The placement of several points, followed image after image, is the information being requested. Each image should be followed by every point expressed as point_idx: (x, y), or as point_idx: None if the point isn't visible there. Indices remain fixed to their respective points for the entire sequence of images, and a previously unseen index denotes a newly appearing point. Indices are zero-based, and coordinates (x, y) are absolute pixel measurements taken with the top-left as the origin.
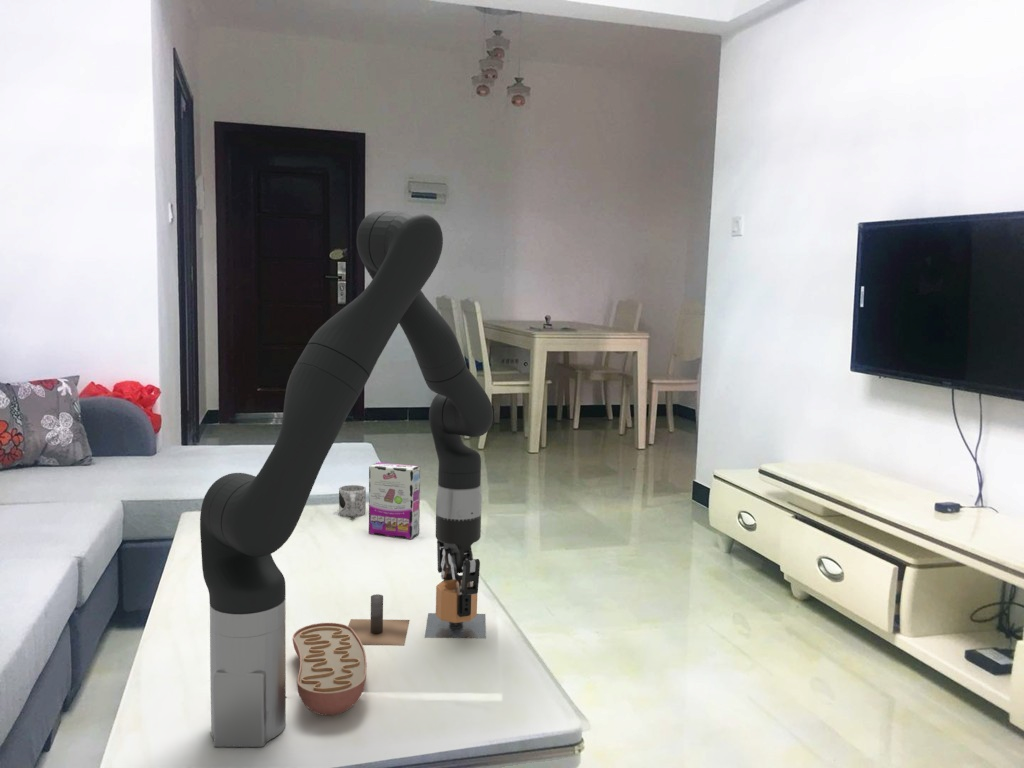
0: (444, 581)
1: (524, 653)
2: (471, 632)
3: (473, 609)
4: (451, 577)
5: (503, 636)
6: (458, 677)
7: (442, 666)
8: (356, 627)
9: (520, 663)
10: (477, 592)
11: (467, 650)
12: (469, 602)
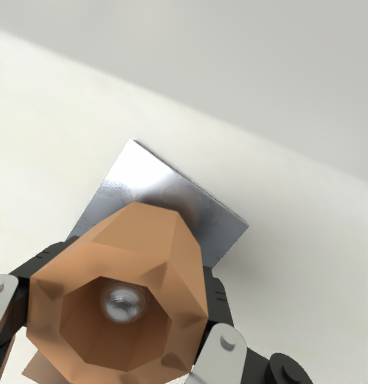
0: (38, 337)
1: (335, 181)
2: (204, 234)
3: (191, 244)
4: (17, 309)
5: (238, 164)
6: (315, 331)
7: (265, 330)
8: (61, 382)
9: (361, 217)
10: (302, 369)
11: (243, 265)
12: (228, 313)
